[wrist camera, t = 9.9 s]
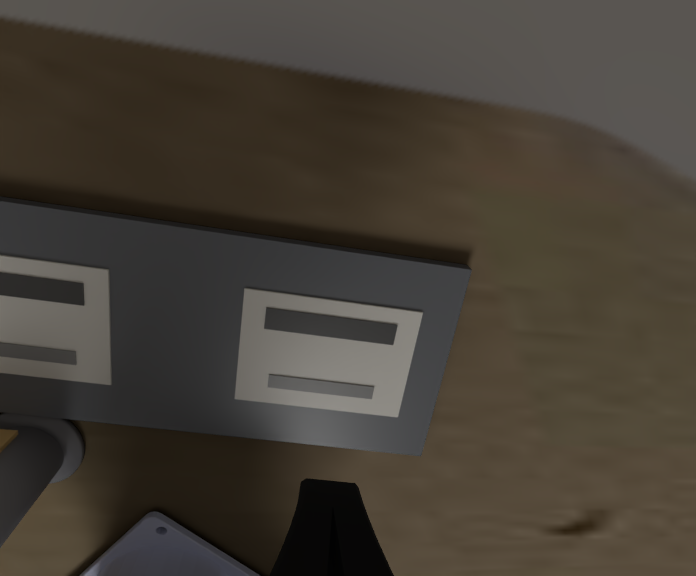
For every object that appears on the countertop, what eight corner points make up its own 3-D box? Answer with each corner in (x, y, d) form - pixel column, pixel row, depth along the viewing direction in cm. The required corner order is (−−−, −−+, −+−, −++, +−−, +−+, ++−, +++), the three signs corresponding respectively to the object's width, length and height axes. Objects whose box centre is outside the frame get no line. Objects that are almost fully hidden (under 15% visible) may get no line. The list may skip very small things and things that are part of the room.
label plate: (467, 265, 18) (473, 271, 17) (401, 511, 23) (403, 524, 22) (-135, 176, 16) (-157, 179, 15) (-76, 467, 21) (-90, 480, 20)
